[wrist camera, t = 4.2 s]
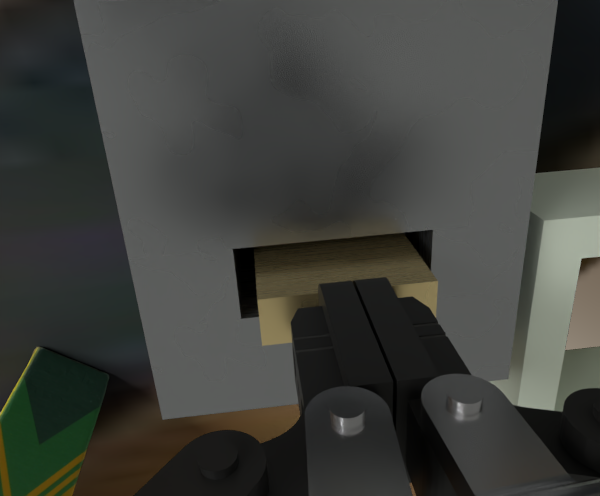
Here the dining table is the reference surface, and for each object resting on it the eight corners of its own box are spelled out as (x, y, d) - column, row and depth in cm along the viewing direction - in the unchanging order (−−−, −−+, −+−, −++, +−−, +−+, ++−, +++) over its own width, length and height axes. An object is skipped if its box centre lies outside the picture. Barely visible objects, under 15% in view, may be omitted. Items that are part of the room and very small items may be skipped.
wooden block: (250, 204, 17) (257, 299, 12) (375, 193, 17) (438, 281, 12) (254, 239, 18) (262, 345, 12) (374, 228, 18) (435, 327, 12)
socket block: (58, -363, 12) (-50, -581, 8) (492, -368, 13) (633, -572, 8) (179, 322, 20) (162, 419, 15) (447, 295, 20) (508, 378, 16)
